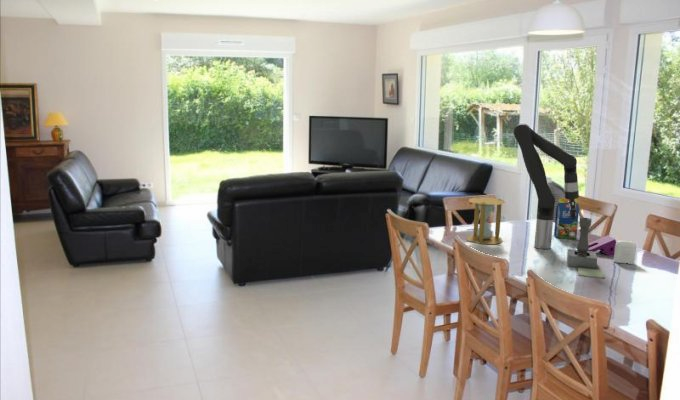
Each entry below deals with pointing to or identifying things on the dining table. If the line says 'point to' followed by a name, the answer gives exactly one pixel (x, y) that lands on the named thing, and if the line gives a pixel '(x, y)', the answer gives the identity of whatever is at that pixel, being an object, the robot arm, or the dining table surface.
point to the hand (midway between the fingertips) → (572, 217)
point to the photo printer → (625, 252)
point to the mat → (591, 273)
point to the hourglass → (484, 232)
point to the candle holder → (583, 236)
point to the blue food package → (565, 220)
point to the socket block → (581, 259)
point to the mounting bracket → (603, 245)
